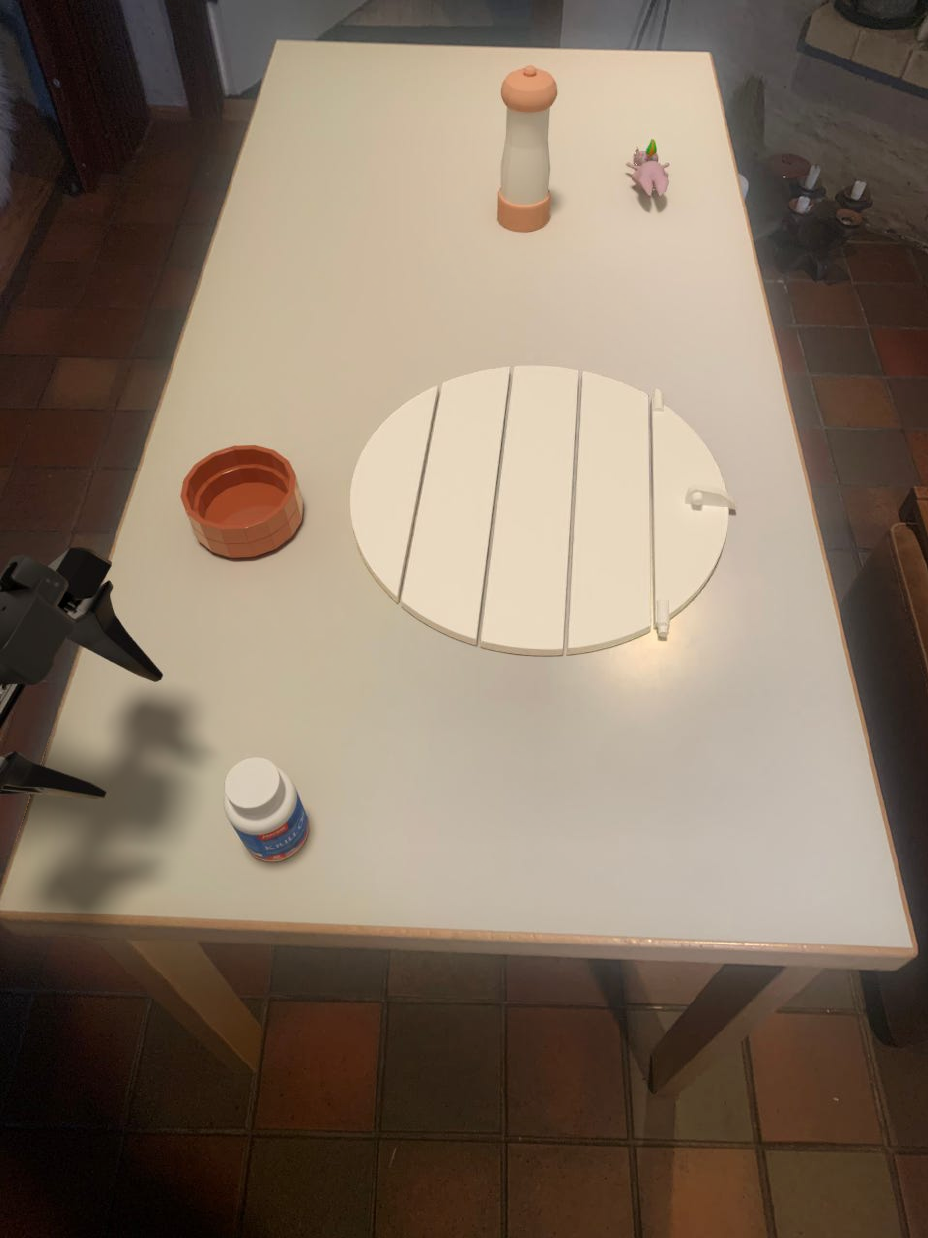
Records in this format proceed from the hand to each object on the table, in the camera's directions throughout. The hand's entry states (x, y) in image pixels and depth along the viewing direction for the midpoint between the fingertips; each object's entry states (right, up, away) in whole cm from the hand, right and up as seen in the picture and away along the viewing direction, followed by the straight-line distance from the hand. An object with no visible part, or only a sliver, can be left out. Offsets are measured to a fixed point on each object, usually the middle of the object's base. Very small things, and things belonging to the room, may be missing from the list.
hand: (133, 734), depth 59 cm
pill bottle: (+8, -9, +10) cm, 16 cm away
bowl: (+1, +19, +29) cm, 34 cm away
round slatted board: (+31, +21, +30) cm, 48 cm away
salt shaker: (+31, +64, +59) cm, 93 cm away
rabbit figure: (+50, +71, +63) cm, 107 cm away
